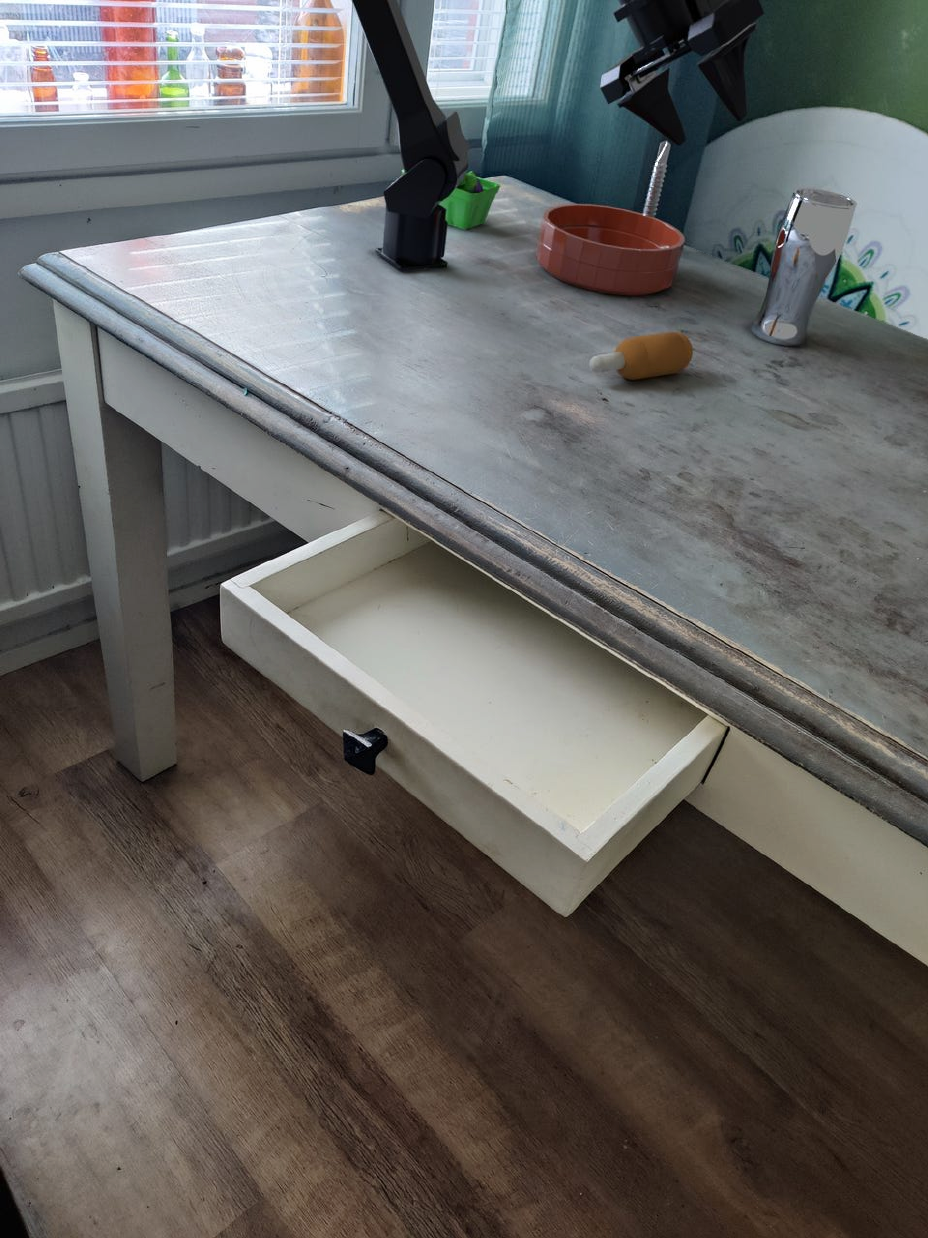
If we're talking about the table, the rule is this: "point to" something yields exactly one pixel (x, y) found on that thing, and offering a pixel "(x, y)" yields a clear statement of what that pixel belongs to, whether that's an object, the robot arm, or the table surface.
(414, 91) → the robot arm
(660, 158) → the screw
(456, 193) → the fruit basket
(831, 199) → the beer glass
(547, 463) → the table surface
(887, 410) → the table surface
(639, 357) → the drumstick
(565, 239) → the shallow orange pet bowl
